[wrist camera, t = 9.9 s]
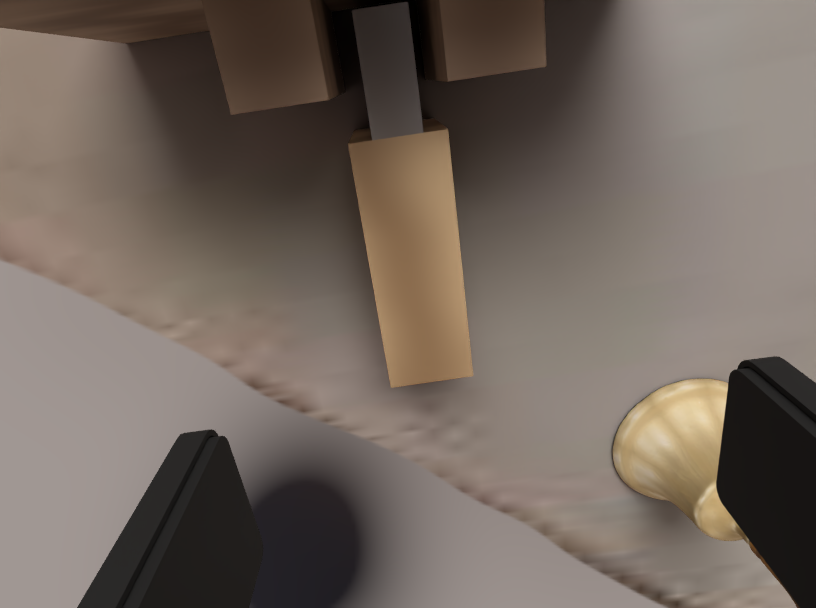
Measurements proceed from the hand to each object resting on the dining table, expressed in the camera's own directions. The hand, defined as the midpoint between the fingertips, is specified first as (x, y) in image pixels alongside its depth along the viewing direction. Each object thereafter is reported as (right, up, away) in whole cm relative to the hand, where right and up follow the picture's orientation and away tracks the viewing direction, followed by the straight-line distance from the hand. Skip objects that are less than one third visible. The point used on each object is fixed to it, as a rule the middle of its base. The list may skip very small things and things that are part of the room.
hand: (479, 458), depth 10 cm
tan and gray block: (-2, +8, +14) cm, 16 cm away
